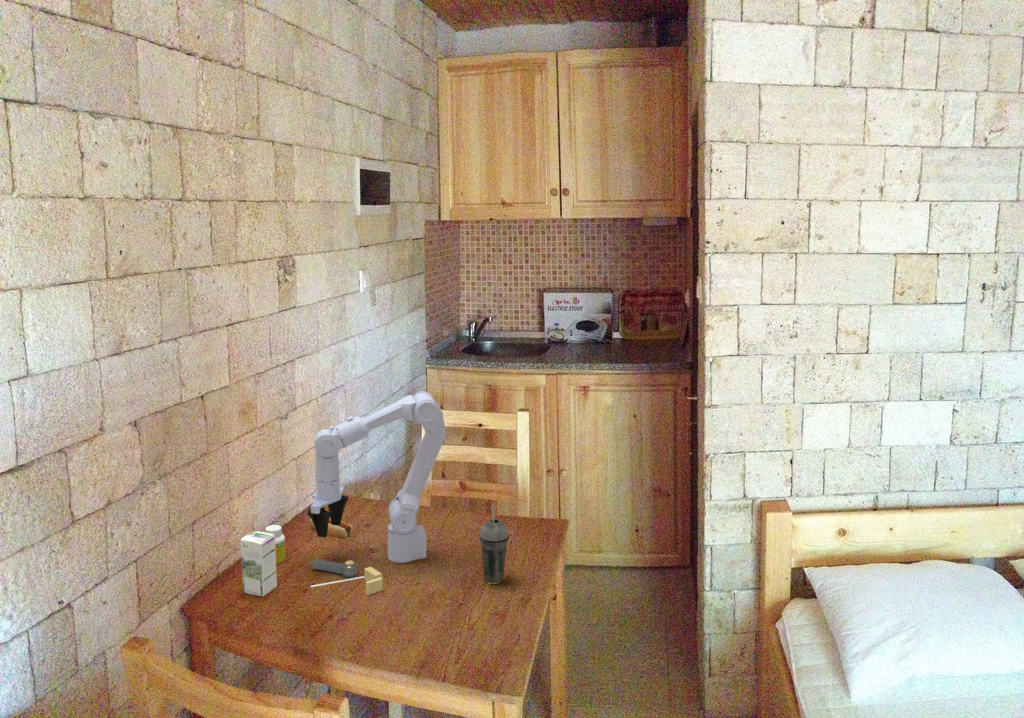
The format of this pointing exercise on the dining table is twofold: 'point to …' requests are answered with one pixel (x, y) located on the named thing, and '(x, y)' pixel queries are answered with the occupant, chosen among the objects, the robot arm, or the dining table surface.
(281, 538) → the supplement bottle
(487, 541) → the beverage cup
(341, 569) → the latch bar
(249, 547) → the syrup box
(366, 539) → the dining table surface
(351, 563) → the board
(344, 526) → the food
